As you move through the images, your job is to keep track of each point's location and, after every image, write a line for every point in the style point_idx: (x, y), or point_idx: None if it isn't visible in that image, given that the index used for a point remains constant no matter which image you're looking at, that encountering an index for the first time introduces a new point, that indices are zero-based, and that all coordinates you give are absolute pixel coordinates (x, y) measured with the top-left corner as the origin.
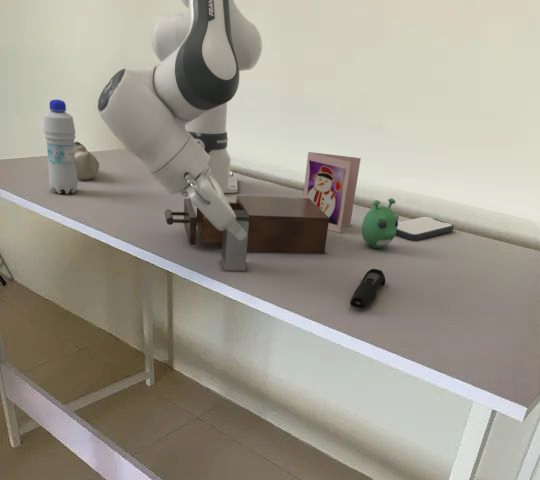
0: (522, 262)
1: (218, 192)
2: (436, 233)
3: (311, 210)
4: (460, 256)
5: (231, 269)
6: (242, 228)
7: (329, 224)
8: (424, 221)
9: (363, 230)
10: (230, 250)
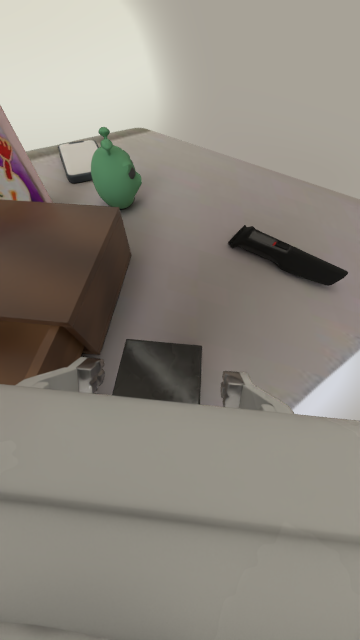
0: (179, 143)
1: (269, 495)
2: None
3: (71, 215)
4: (160, 165)
5: None
6: (252, 383)
7: None
8: (73, 150)
9: (112, 195)
10: None
